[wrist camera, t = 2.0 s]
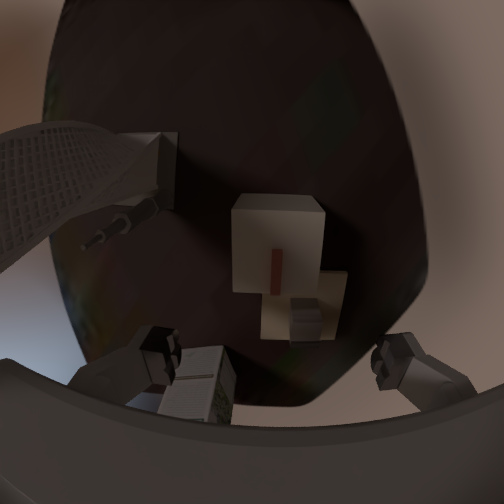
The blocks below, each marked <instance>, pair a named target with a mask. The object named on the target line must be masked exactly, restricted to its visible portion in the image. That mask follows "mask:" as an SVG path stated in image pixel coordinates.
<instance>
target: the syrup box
mask: <svg viewBox="0 0 504 504" xmlns="http://www.w3.org/2000/svg"><path fill="white" fill-rule="evenodd" d="M175 373H176V376H175V378H174V381H173V383H172V386H167V388H166V391H165V393H164V396H163V399H162V401H161V404H160V407H159V410H158V412H157V413H158V414H163V415H168V416H173V417H179V418H184V419H190V420H197V421H204V422H212V423H220V424H231V417H232V409H233V403H234V395H235V387H236V380H237V375H236V373H235V371H234V368H233V366H232V364H231V362H230V359H229V357H228V355H227V352H226V350H225V347H224V346H223V345H221V346H209V347H199V348H190V349H182V357H181V363H180V366H179V367H178V368H177V369H175Z"/></svg>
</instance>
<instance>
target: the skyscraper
mask: <svg viewBox="0 0 504 504" xmlns="http://www.w3.org/2000/svg"><path fill="white" fill-rule="evenodd" d="M177 143H178V132H149V133H123V134H114V133H112V132H110V131H108V130H106V129H104V128H102V127H99V126H96V125H93V124H89V123H85V122H78V121H50V122H42V123H37V124H32V125H27V126H23V127H20V128H17V129H14V130H11V131H8V132H5V133H2V134H0V273H2V272H3V271H4V270H6V269H7V268H8V267H10V266H11V265H12V264H14V263H15V262H16V261H17V260H19V259H20V258H21V257H22V256H24V255H25V254H26V253H27V252H28V251H30V250H31V249H32V248H34V247H35V246H36V245H37V244H39V243H40V242H41V241H43V240H44V239H45V238H46V237H48V236H49V235H50V234H51V233H53V232H54V231H55V230H56V229H58V228H59V227H60V226H61V225H63V224H64V223H65V222H66V221H67V220H69V219H70V218H73V217H76V216H79V215H82V214H85V213H88V212H90V211H93V210H96V209H99V208H102V207H105V206H108V205H125V206H135V207H133V208H131V209H129V210H126V211H123V212H118V213H116V215H115V217H114V219H113V221H112V224H110V225H109V226H107V227H104V228H102V229H99V230H97V231H96V234H95V237H94V238H93V239H91V240H90V241H88V242H86V243H84V244H82V245H81V249H82V250H83V251H85V250H86V249H88V248H89V247H90V246H92V245H93V244H94V243H96V242H100V243H104V242H105V241H107V240H108V239H109V238H110V237H111V236H113V235H114V234H116V233H123V234H128V233H129V232H130V231H131V230H132V229H133V228H135V227H136V226H137V225H138V224H139V223H141V222H142V221H144V220H146V219H149V218H154V217H156V216H157V215H158V214H159V213H160V212H161V211H162V210H165V209H174V195H175V173H176V157H177Z"/></svg>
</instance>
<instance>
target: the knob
mask: <svg viewBox="0 0 504 504" xmlns="http://www.w3.org/2000/svg"><path fill="white" fill-rule="evenodd" d="M231 220H232V273H233V292H245V293H270V295H273V296H280V294H310V295H316V294H317V287H318V279H319V271H320V263H321V254H322V245H323V235H324V224H325V211H324V210H323V209H322V208H321V206H320V205H319V204H318V203H317V202H316V200H315V199H314V198H313V197H312V196H309V195H288V194H256V193H241V195H240V196H239V198H238V200H237V201H236V203H235V204H234V206H233V208H232V209H231Z"/></svg>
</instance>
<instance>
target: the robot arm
mask: <svg viewBox="0 0 504 504" xmlns="http://www.w3.org/2000/svg"><path fill="white" fill-rule="evenodd" d="M178 339H179V333H178V330H176V329H171V328H164V327H158V326H150V325H141V327H140V328H139V329H138V331H137V332H136V334H135V335H134V337H133V338H132V340H131V341H130V343H129V344H128V346H127V347H122V348H120V349H118V350H116V351H114V352H112V353H110V354H108V355H106V356H104V357H101V358H99V359H97V360H95V361H93V362H91V363H89V364H87V365H85V366H83V367H80V368H79V369H78V371H77V372H76V374H75V375H74V376H73V378H72V379H71V380H70V382H69V383H68V385H67V386H66V385H64V384H61V383H59V382H57V381H54V380H52V379H50V378H48V377H45V376H43V375H41V374H39V373H37V372H35V371H33V370H31V369H29V368H26V367H24V366H23V365H21V364H19V363H17V362H16V361H14V360H12V359H8V358H5V359H1V360H0V504H504V383H503V384H501V385H499V386H497V387H494V388H492V389H489V390H487V391H484V392H482V393H479V394H478V393H477V391H476V390H475V388H474V387H473V385H472V383H471V382H470V380H469V379H468V377H467V376H465V375H463V374H462V373H460V372H458V371H456V370H455V369H453V368H451V367H450V366H448V365H446V364H444V363H442V362H441V361H439V360H437V359H436V358H434V357H432V356H430V355H426V354H425V353H424V351H423V349H422V348H421V346H420V344H419V343H418V341H417V340H416V338H415V337H414V335H413V334H412V333H411V332H405V333H399V334H386V335H379V336H378V338H377V340H376V345H377V348H375V349H374V350H373V352H372V355H371V368H372V371H373V372H374V373H375V374H376V375H377V377H376V382H377V384H378V387H379V390H380V391H382V390H390V389H397V390H398V391H399V392H400V393H402V394H403V395H404V396H405V397H406V398H407V399H409V401H410V402H412V403H413V404H414V405H415V406H416V407H417V408H418V409H420V411H421V412H417V413H413V414H408V415H403V416H398V417H393V418H387V419H381V420H375V421H368V422H361V423H352V424H343V425H330V426H314V427H259V426H242V425H230V424H220V423H212V422H204V421H197V420H190V419H184V418H179V417H173V416H168V415H163V414H158V413H154V412H149V411H145V410H141V409H137V408H133V407H129V406H126V405H125V404H126V403H127V402H129V401H130V400H132V399H133V398H134V397H136V396H137V395H138V394H140V393H141V392H142V391H144V390H145V389H146V388H148V387H149V386H150V385H151V384H152V383H155V384H161V385H167V386H172V383H173V381H174V378H175V376H176V373H175V369H177V368H178V367H179V366H180V363H181V357H182V350H181V345H180V344H179V343H178V342H177V341H178Z"/></svg>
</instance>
